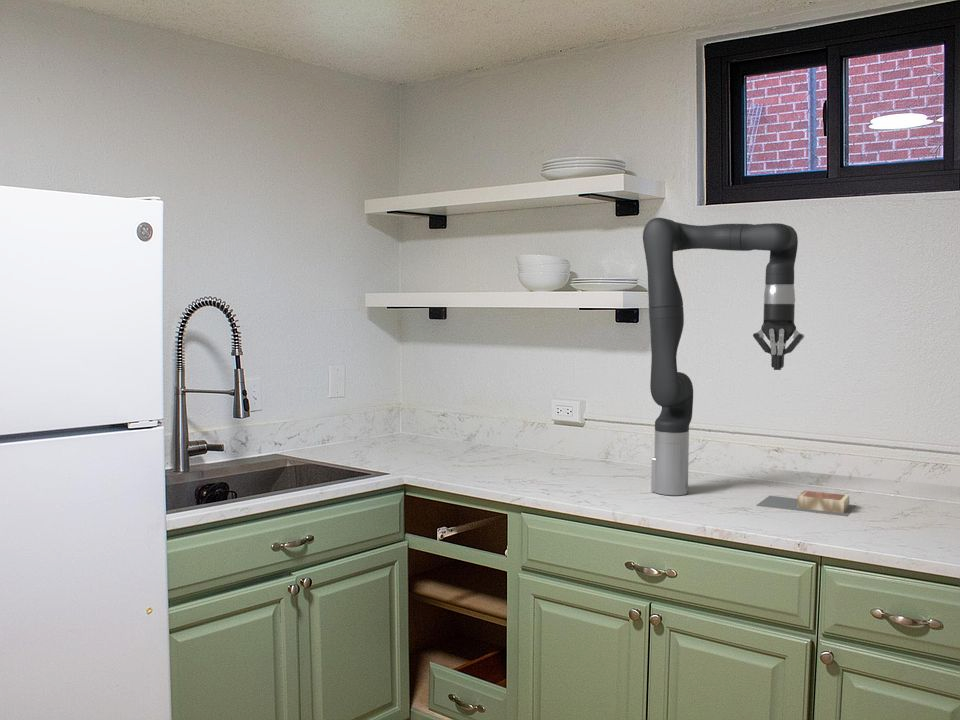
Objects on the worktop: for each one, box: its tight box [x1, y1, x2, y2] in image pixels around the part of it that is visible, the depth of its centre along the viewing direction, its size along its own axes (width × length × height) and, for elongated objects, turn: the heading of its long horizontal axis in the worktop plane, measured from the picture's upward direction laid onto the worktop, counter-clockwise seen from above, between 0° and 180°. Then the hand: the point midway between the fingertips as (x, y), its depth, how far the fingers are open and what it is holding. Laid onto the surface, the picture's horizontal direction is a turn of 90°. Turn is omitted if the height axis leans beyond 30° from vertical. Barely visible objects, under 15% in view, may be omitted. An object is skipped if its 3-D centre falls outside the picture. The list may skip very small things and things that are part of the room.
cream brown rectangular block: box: [797, 490, 850, 513], centre depth 230 cm, size 3×8×11 cm
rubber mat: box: [755, 495, 858, 518], centre depth 232 cm, size 22×14×1 cm, turn 59°
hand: (777, 369), depth 234 cm, fingers closed
